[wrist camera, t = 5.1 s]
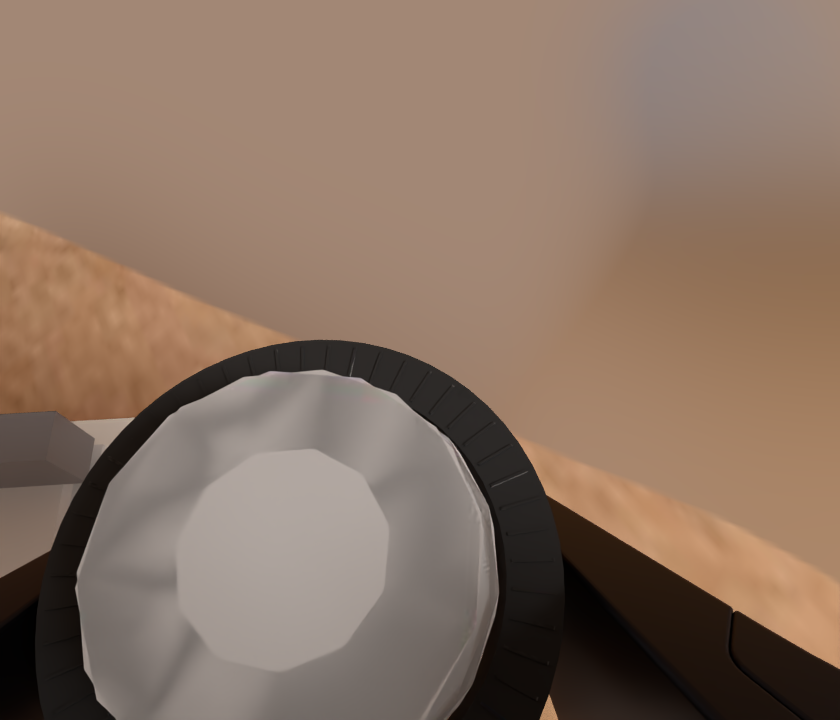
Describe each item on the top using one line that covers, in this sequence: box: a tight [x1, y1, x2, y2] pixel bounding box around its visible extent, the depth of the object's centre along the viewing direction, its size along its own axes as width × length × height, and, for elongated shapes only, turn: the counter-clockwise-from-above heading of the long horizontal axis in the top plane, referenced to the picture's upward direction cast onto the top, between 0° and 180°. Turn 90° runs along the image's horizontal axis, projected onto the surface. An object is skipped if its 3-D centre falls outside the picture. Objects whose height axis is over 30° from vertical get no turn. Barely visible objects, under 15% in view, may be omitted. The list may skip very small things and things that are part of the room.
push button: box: [35, 340, 565, 720], centre depth 9 cm, size 7×5×10 cm
